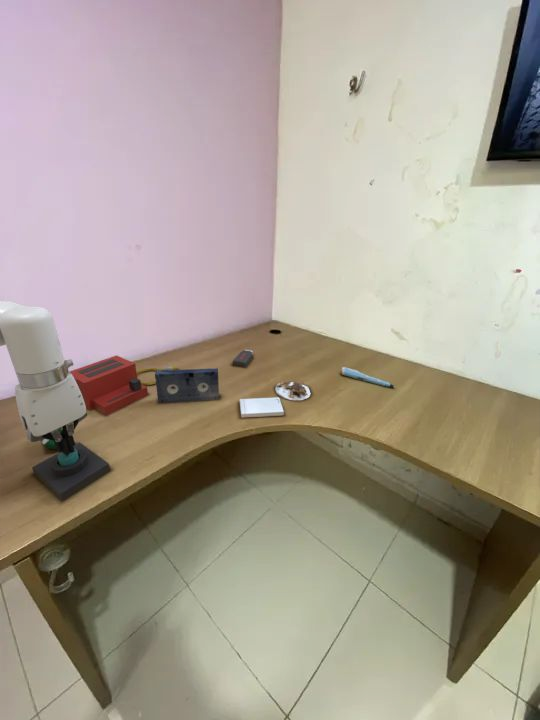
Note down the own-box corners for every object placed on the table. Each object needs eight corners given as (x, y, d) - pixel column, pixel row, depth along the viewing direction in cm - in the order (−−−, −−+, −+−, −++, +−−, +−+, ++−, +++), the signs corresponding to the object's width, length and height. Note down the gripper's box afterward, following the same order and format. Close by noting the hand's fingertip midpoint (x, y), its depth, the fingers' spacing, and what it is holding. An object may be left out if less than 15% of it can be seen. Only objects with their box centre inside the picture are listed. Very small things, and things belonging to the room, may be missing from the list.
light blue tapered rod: (339, 375, 115) (340, 368, 114) (342, 372, 118) (343, 365, 117) (393, 390, 107) (395, 383, 106) (395, 386, 110) (396, 379, 108)
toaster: (72, 399, 94) (65, 372, 90) (120, 379, 106) (116, 354, 102) (102, 417, 86) (96, 389, 82) (151, 393, 98) (147, 368, 95)
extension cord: (174, 386, 103) (173, 381, 102) (125, 386, 102) (124, 381, 101) (181, 369, 114) (180, 364, 113) (137, 369, 113) (136, 364, 112)
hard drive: (279, 396, 97) (239, 398, 95) (284, 411, 90) (241, 413, 88) (278, 401, 98) (239, 402, 96) (283, 416, 90) (241, 418, 89)
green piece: (59, 436, 81) (35, 430, 77) (69, 424, 81) (45, 417, 77) (66, 456, 75) (40, 450, 70) (76, 443, 75) (51, 436, 71)
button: (56, 461, 66) (54, 455, 65) (73, 452, 69) (71, 446, 68) (64, 469, 64) (62, 462, 63) (82, 459, 67) (80, 452, 66)
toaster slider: (130, 389, 95) (128, 380, 93) (136, 386, 96) (135, 377, 95) (134, 391, 93) (133, 383, 92) (141, 388, 95) (140, 380, 94)
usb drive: (232, 365, 119) (232, 359, 118) (242, 353, 130) (242, 347, 128) (245, 367, 118) (245, 361, 117) (254, 355, 128) (254, 349, 127)
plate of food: (318, 396, 101) (320, 386, 100) (287, 404, 96) (287, 393, 94) (300, 380, 110) (301, 371, 109) (270, 387, 105) (270, 377, 104)
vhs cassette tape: (219, 395, 99) (218, 367, 95) (219, 400, 97) (218, 372, 92) (159, 398, 96) (155, 369, 92) (157, 403, 94) (154, 374, 90)
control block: (34, 474, 67) (29, 460, 65) (81, 449, 75) (77, 435, 73) (62, 501, 61) (57, 486, 60) (110, 470, 69) (107, 457, 67)
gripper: (74, 356, 65) (92, 427, 73) (-15, 384, 54) (18, 464, 61) (94, 365, 61) (110, 439, 69) (3, 397, 50) (35, 481, 58)
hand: (67, 450), depth 65 cm, fingers closed
